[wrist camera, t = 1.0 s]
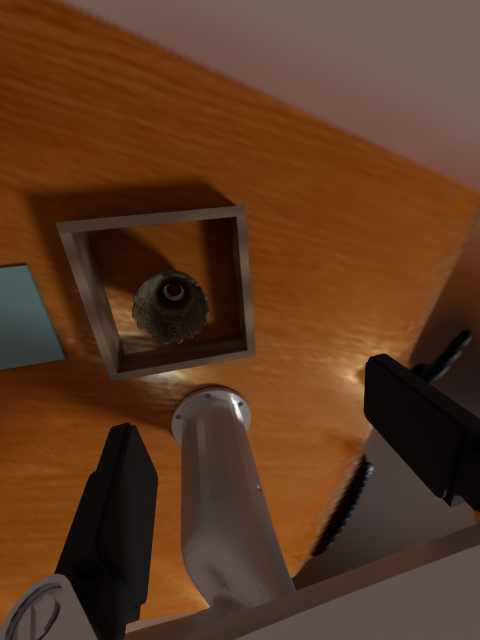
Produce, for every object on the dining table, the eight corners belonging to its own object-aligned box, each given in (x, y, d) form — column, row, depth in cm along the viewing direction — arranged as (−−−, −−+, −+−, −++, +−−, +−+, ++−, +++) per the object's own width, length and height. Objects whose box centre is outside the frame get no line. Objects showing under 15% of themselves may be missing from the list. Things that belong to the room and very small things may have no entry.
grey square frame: (247, 340, 38) (255, 355, 34) (118, 362, 35) (110, 382, 31) (237, 206, 31) (245, 205, 26) (73, 220, 28) (55, 222, 24)
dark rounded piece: (129, 286, 32) (113, 308, 24) (175, 247, 31) (172, 257, 24) (172, 327, 35) (170, 357, 27) (214, 292, 34) (223, 314, 27)
